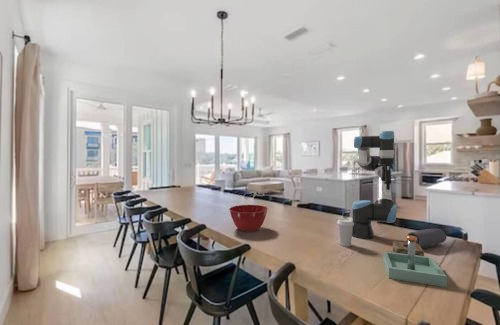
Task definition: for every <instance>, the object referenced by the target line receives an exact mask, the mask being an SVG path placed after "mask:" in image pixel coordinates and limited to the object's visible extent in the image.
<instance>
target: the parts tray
mask: <svg viewBox="0 0 500 325" xmlns="http://www.w3.org/2000/svg"><path fill="white" fill-rule="evenodd" d="M382 261H383V265H384V268H385V270H386V274H387V277H388V279H391V280H399V281H406V282H411V283H417V284H424V285H425V284H426V285H429V286H436V287H444V288H447V287H448V286H447V284H448V276H447V275H446V273H445V272H444V271H443V270H442V268H441V267H440V266H439V265H438V263H437V262H436V261H435V259H434V258H433V257H432V256H425V255H424V256H418V255H415V270H409V269H407V264H408V254H401V253H393V251H392V252H391V251H384V250H383V251H382Z"/></svg>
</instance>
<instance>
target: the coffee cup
mask: <svg viewBox="0 0 500 325" xmlns="http://www.w3.org/2000/svg"><path fill="white" fill-rule="evenodd" d="M353 225H354V223H353V221H352V219H350V218H339V219H338V220H337V230H338V241H339V245H340V246H342V247H347V248H349V247H352V240H353V238H352V237H353V236H352V230H353Z"/></svg>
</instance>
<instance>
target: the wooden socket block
mask: <svg viewBox="0 0 500 325" xmlns="http://www.w3.org/2000/svg"><path fill="white" fill-rule="evenodd" d="M392 252H393V253H401V254H408V242H406V241H405V242H404V241H403V242H402V241H398V240H397V241H395V240H392ZM415 255H418V256H425V250H423V248H421V247H420V246H419V244H416V246H415Z"/></svg>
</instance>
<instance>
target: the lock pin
mask: <svg viewBox="0 0 500 325" xmlns="http://www.w3.org/2000/svg"><path fill="white" fill-rule="evenodd" d="M407 235H408V234H407ZM407 235H406V240H407V239H408V241H407V243H408V264H407V269H409V270H415V246H416V241H417V237H415V236H410V235H408V236H407Z"/></svg>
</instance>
